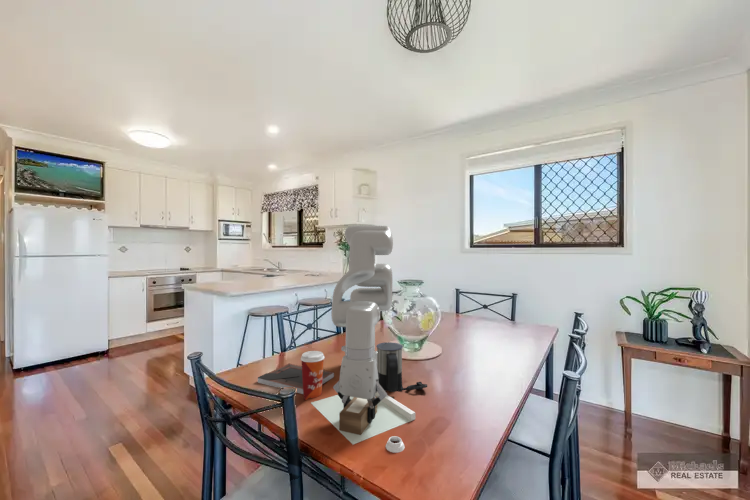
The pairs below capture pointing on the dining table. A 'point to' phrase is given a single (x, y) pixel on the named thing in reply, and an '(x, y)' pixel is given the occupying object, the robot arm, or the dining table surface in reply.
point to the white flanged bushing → (395, 445)
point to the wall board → (385, 419)
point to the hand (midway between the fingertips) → (359, 417)
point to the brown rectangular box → (355, 416)
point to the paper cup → (312, 373)
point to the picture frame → (289, 377)
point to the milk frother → (392, 368)
